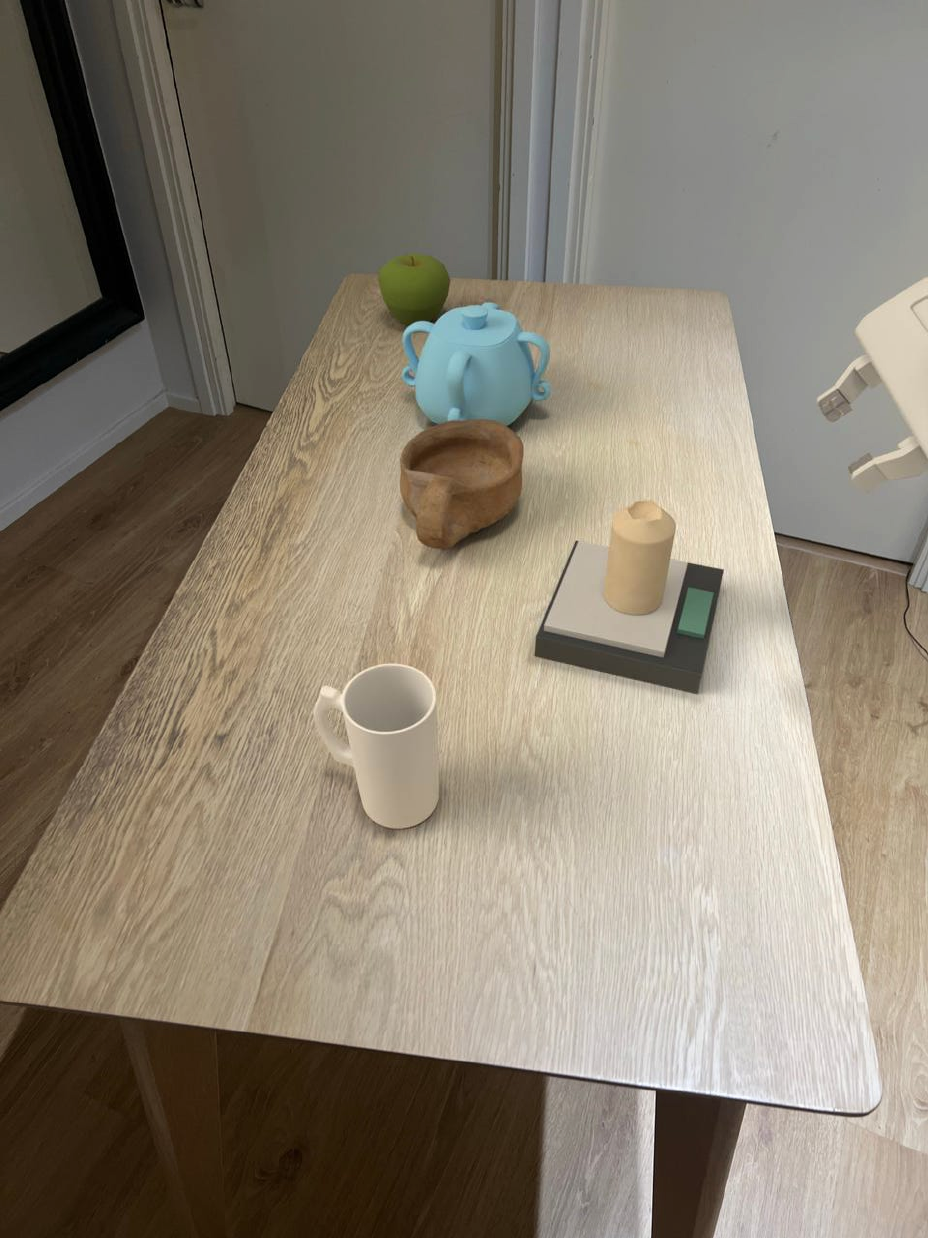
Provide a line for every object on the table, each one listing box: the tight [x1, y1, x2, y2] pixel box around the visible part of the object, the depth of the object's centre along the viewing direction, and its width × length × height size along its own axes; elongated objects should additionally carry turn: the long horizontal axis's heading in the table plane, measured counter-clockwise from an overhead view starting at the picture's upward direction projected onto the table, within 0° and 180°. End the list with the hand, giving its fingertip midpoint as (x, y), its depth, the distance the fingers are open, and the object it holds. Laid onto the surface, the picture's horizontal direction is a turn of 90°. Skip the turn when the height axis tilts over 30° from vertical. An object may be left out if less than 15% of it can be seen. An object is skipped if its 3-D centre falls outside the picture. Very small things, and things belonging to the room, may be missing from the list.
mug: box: [313, 663, 440, 830], centre depth 68 cm, size 10×7×12 cm, turn 69°
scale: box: [534, 540, 725, 695], centre depth 85 cm, size 15×15×3 cm
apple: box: [377, 253, 451, 327], centre depth 131 cm, size 11×10×10 cm
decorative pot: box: [401, 301, 553, 427], centre depth 110 cm, size 16×16×14 cm
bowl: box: [399, 419, 525, 550], centre depth 95 cm, size 18×14×10 cm
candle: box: [604, 500, 677, 615], centre depth 80 cm, size 6×6×10 cm
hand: (837, 444), depth 64 cm, fingers open, 8 cm apart
